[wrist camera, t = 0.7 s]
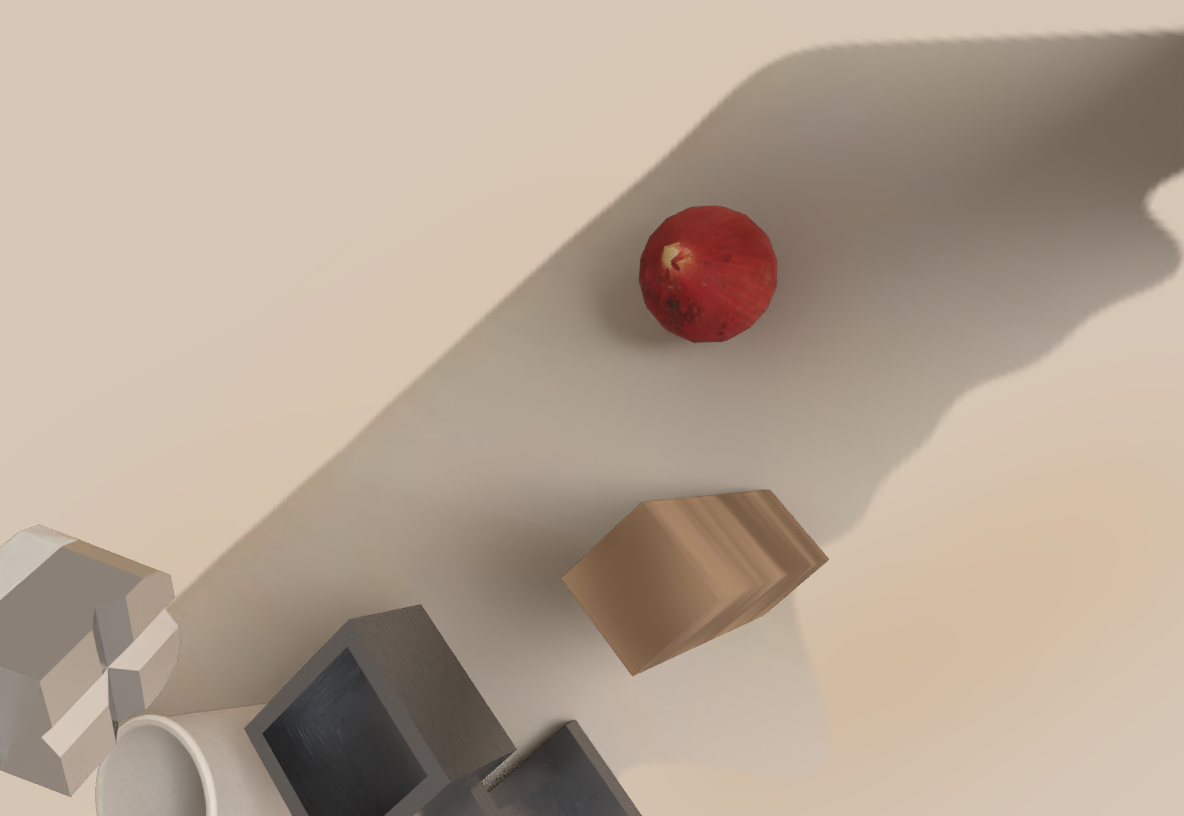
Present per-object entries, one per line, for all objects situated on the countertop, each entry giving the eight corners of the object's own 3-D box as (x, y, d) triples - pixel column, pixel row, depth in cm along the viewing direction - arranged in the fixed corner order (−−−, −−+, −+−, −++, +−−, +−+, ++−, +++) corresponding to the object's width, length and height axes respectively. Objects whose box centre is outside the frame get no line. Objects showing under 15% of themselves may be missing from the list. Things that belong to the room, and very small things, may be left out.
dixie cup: (366, 822, 54) (222, 893, 45) (255, 828, 58) (102, 895, 49) (344, 668, 55) (199, 708, 47) (237, 683, 59) (84, 723, 50)
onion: (765, 369, 45) (702, 352, 38) (659, 323, 48) (581, 300, 40) (817, 249, 44) (763, 209, 37) (706, 209, 47) (635, 164, 40)
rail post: (769, 489, 45) (641, 501, 32) (829, 559, 43) (719, 600, 31) (707, 545, 46) (561, 578, 34) (763, 615, 45) (632, 676, 32)
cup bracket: (485, 590, 51) (349, 619, 42) (649, 827, 47) (536, 919, 37) (392, 681, 54) (243, 728, 45) (539, 915, 49) (407, 1023, 40)
